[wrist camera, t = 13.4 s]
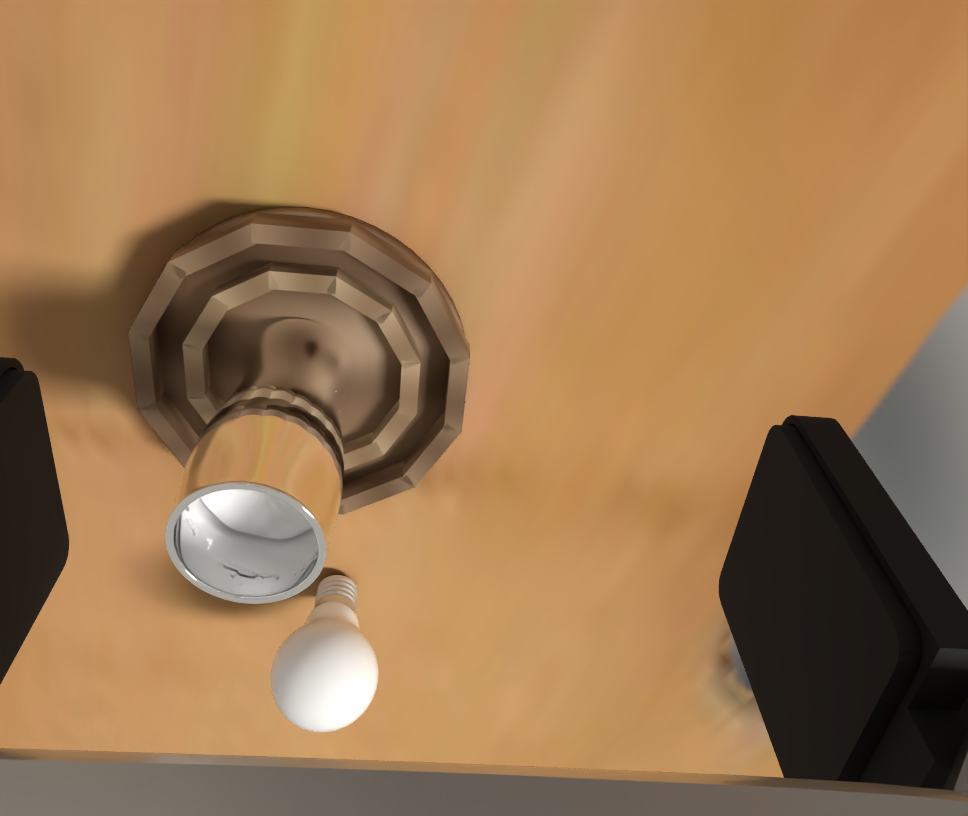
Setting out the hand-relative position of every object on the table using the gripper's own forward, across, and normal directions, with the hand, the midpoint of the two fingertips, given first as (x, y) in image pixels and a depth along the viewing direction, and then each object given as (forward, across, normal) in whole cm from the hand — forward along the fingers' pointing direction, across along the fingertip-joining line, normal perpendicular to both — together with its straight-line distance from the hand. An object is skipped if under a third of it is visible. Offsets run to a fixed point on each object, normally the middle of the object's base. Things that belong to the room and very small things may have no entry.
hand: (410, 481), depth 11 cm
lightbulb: (+34, +4, +35) cm, 49 cm away
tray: (+34, +6, +18) cm, 39 cm away
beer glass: (+34, +6, +18) cm, 38 cm away
